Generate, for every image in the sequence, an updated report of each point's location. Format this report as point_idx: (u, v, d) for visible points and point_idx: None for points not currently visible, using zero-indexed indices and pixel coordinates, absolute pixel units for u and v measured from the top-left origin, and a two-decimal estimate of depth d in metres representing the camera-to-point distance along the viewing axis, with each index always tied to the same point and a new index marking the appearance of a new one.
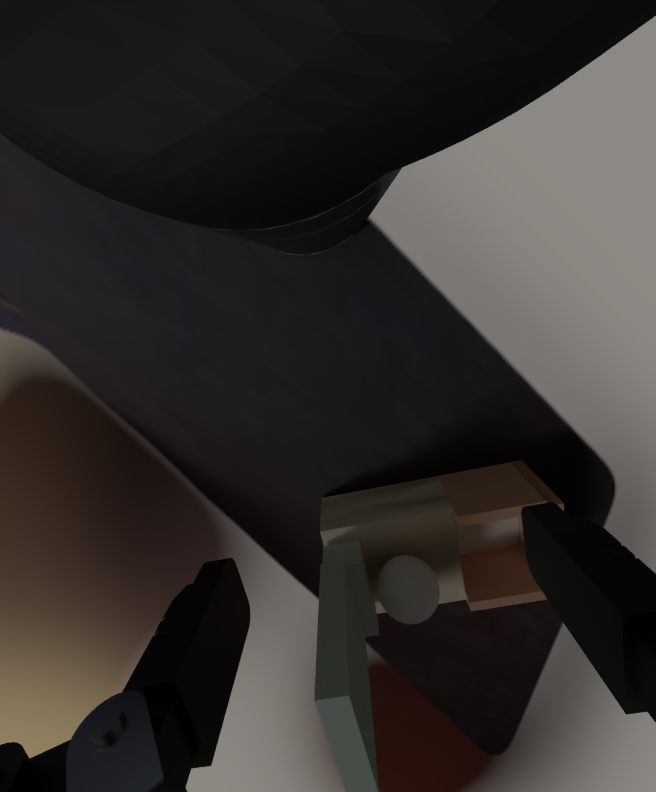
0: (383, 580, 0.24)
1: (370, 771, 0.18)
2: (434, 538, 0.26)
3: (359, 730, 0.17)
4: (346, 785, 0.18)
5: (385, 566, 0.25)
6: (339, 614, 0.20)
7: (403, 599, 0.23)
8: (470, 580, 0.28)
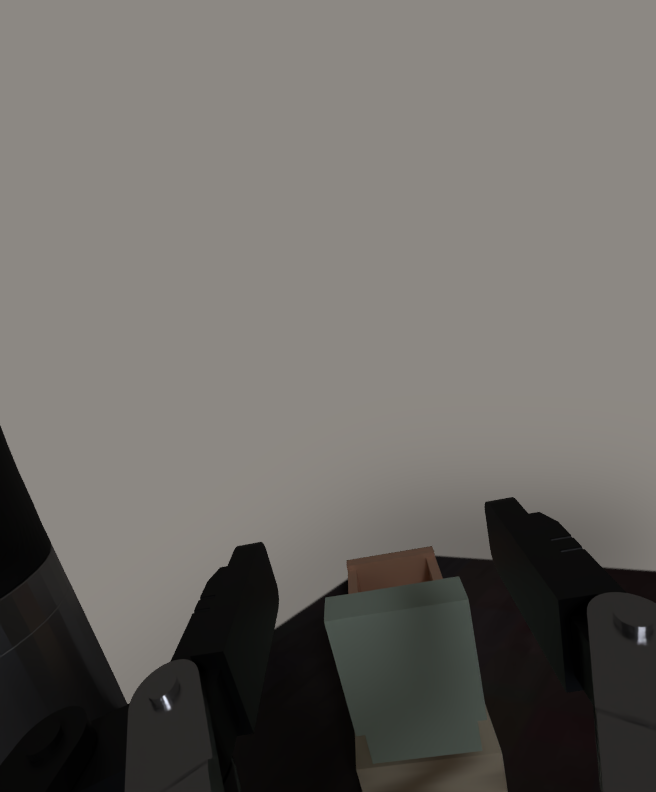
0: None
1: (423, 583, 0.19)
2: None
3: (369, 591, 0.20)
4: (447, 600, 0.18)
5: None
6: None
7: None
8: None
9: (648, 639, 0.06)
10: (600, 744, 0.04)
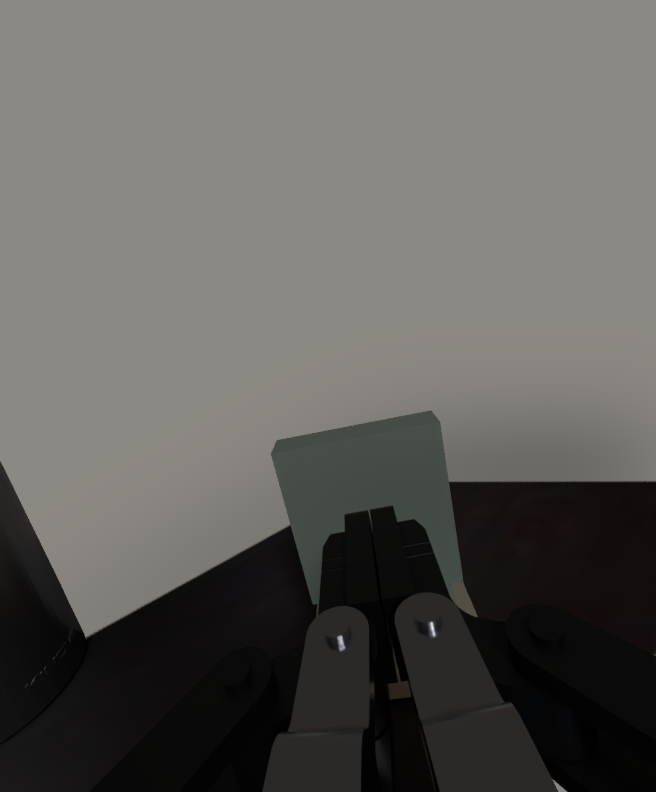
0: None
1: (390, 418, 0.17)
2: None
3: (328, 431, 0.17)
4: (415, 425, 0.15)
5: None
6: None
7: None
8: None
9: (431, 633, 0.07)
10: (432, 758, 0.05)
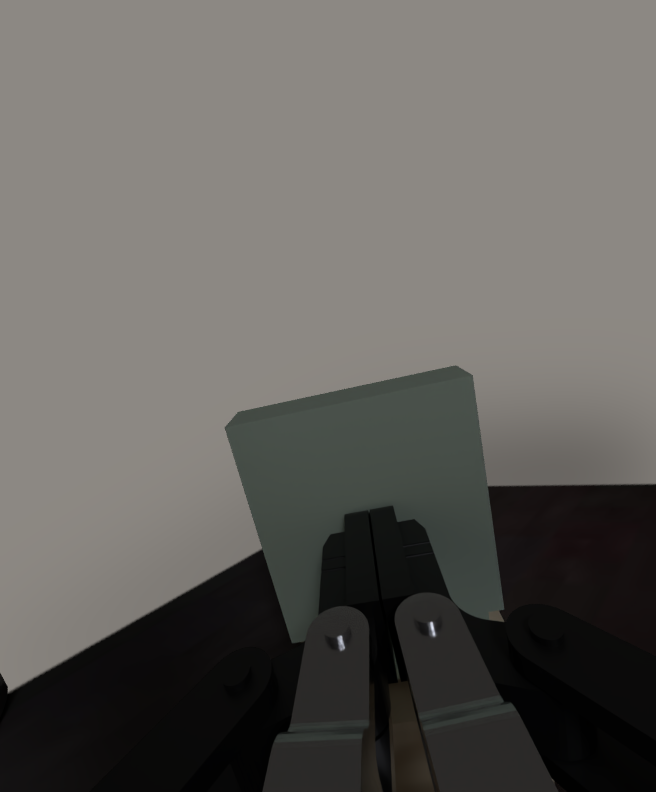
0: None
1: (397, 378, 0.12)
2: None
3: None
4: (435, 381, 0.10)
5: None
6: None
7: None
8: None
9: (431, 633, 0.07)
10: (432, 758, 0.05)
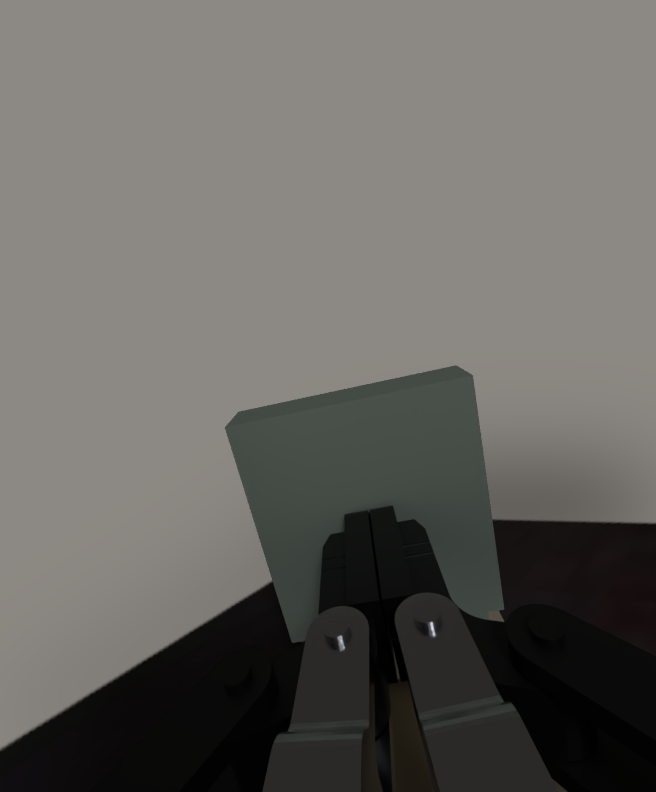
0: None
1: (398, 378, 0.12)
2: None
3: None
4: (435, 381, 0.10)
5: None
6: None
7: None
8: None
9: (431, 633, 0.07)
10: (432, 758, 0.05)
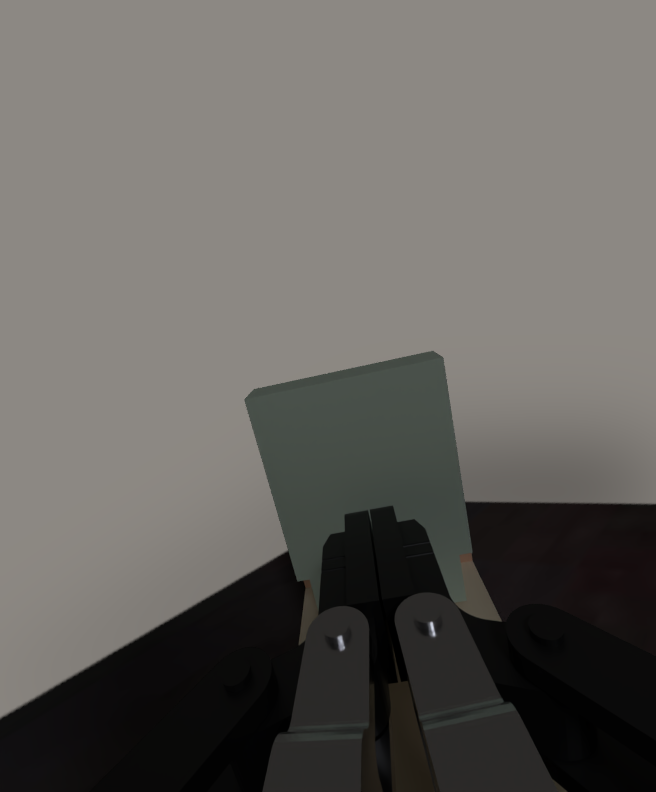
0: None
1: (385, 361, 0.14)
2: None
3: (312, 378, 0.15)
4: (413, 362, 0.13)
5: None
6: None
7: None
8: None
9: (431, 633, 0.07)
10: (432, 758, 0.05)
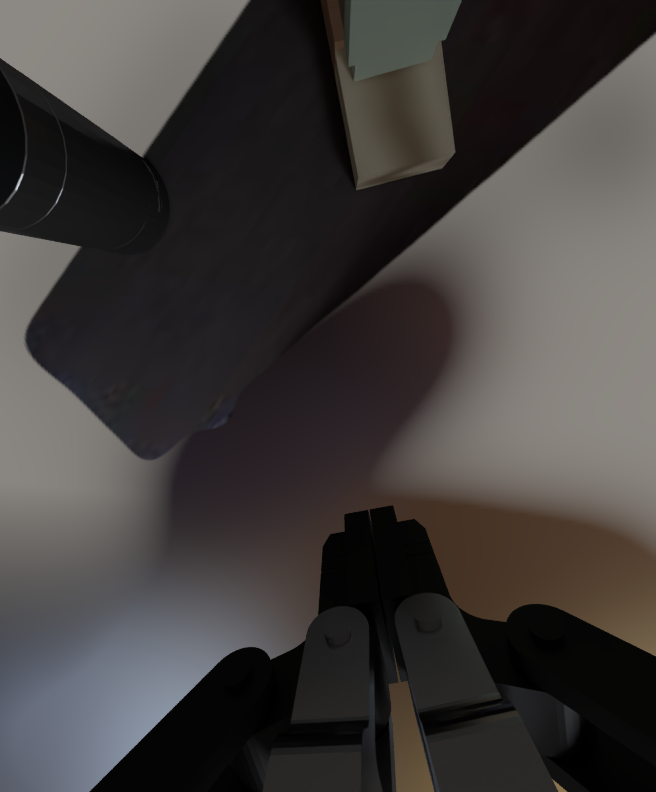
0: None
1: None
2: None
3: None
4: None
5: None
6: (345, 10, 0.23)
7: None
8: None
9: (431, 633, 0.07)
10: (432, 758, 0.05)
